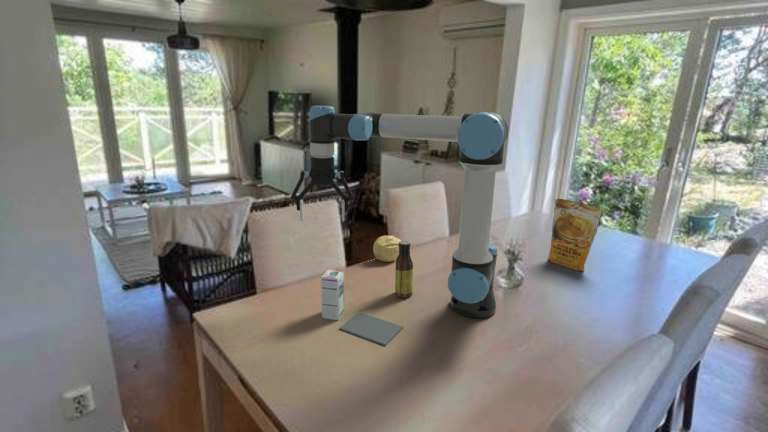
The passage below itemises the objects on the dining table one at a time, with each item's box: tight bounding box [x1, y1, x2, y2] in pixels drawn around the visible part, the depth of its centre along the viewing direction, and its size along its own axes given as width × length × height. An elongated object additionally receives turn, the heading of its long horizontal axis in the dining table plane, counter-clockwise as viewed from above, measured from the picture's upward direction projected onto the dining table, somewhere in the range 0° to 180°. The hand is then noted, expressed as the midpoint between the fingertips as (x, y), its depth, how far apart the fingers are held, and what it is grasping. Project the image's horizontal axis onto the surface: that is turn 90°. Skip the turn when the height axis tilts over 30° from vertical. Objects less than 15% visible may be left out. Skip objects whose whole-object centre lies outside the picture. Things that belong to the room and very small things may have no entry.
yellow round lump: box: [372, 235, 402, 263], centre depth 174 cm, size 12×12×11 cm
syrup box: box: [320, 269, 345, 321], centre depth 128 cm, size 6×6×14 cm
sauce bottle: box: [394, 240, 414, 299], centre depth 142 cm, size 6×6×20 cm
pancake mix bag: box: [547, 198, 603, 272], centre depth 173 cm, size 7×19×28 cm, turn 40°
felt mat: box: [338, 311, 404, 347], centre depth 123 cm, size 16×11×1 cm
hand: (322, 220), depth 135 cm, fingers open, 13 cm apart
